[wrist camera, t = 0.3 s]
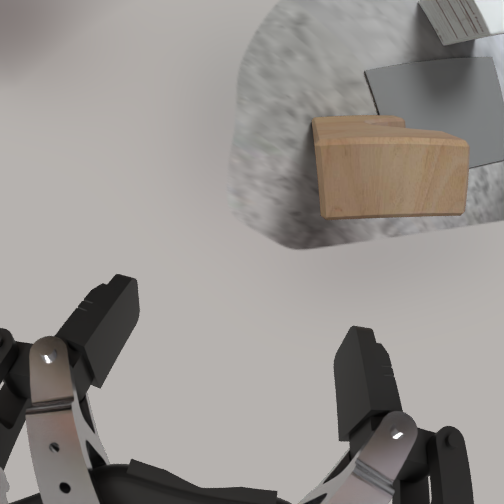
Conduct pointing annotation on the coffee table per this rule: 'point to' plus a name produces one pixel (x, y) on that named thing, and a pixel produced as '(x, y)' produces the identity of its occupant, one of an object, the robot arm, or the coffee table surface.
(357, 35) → the coffee table surface
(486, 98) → the mat
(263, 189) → the coffee table surface
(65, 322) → the robot arm
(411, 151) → the decorative block
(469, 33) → the supplement box
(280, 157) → the coffee table surface
